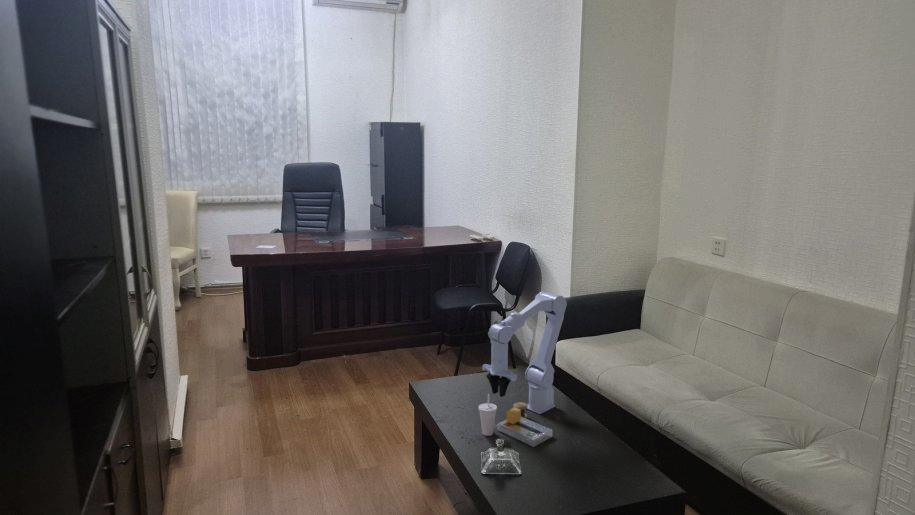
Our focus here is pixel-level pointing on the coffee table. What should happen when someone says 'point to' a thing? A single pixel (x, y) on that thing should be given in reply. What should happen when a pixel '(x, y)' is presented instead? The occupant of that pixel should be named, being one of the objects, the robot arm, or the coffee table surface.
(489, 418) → the smoothie
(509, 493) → the coffee table surface
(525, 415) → the reel
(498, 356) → the robot arm
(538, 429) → the panel
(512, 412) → the toggle
